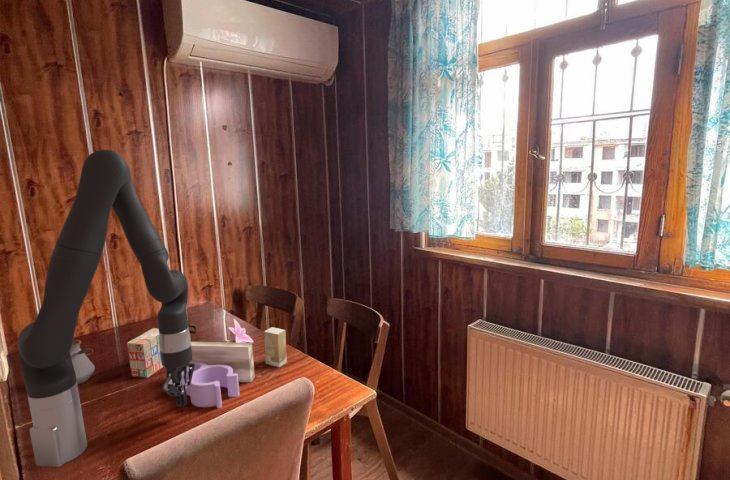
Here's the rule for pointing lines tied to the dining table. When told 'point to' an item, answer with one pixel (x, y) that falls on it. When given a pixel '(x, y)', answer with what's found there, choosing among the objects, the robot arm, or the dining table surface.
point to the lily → (240, 334)
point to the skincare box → (275, 346)
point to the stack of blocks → (145, 354)
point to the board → (226, 357)
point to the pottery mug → (191, 324)
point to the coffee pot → (81, 362)
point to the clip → (211, 384)
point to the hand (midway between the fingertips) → (182, 405)
